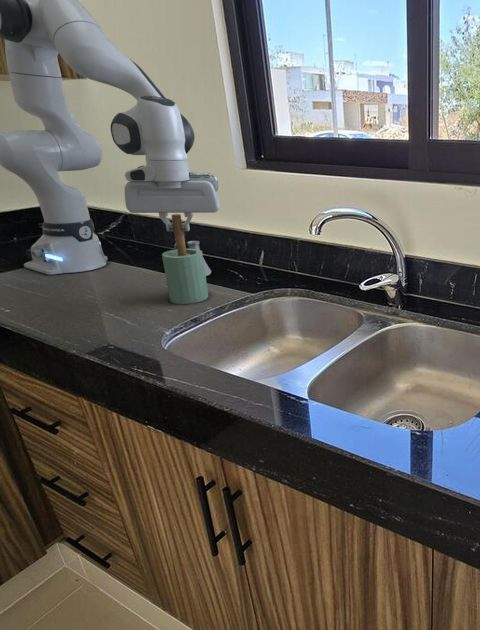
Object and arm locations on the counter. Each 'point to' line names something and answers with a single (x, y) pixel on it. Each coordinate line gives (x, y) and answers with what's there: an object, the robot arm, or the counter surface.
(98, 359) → the counter surface
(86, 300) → the counter surface
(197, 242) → the flask
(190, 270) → the jar
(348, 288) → the counter surface
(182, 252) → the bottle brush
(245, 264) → the counter surface
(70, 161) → the robot arm
